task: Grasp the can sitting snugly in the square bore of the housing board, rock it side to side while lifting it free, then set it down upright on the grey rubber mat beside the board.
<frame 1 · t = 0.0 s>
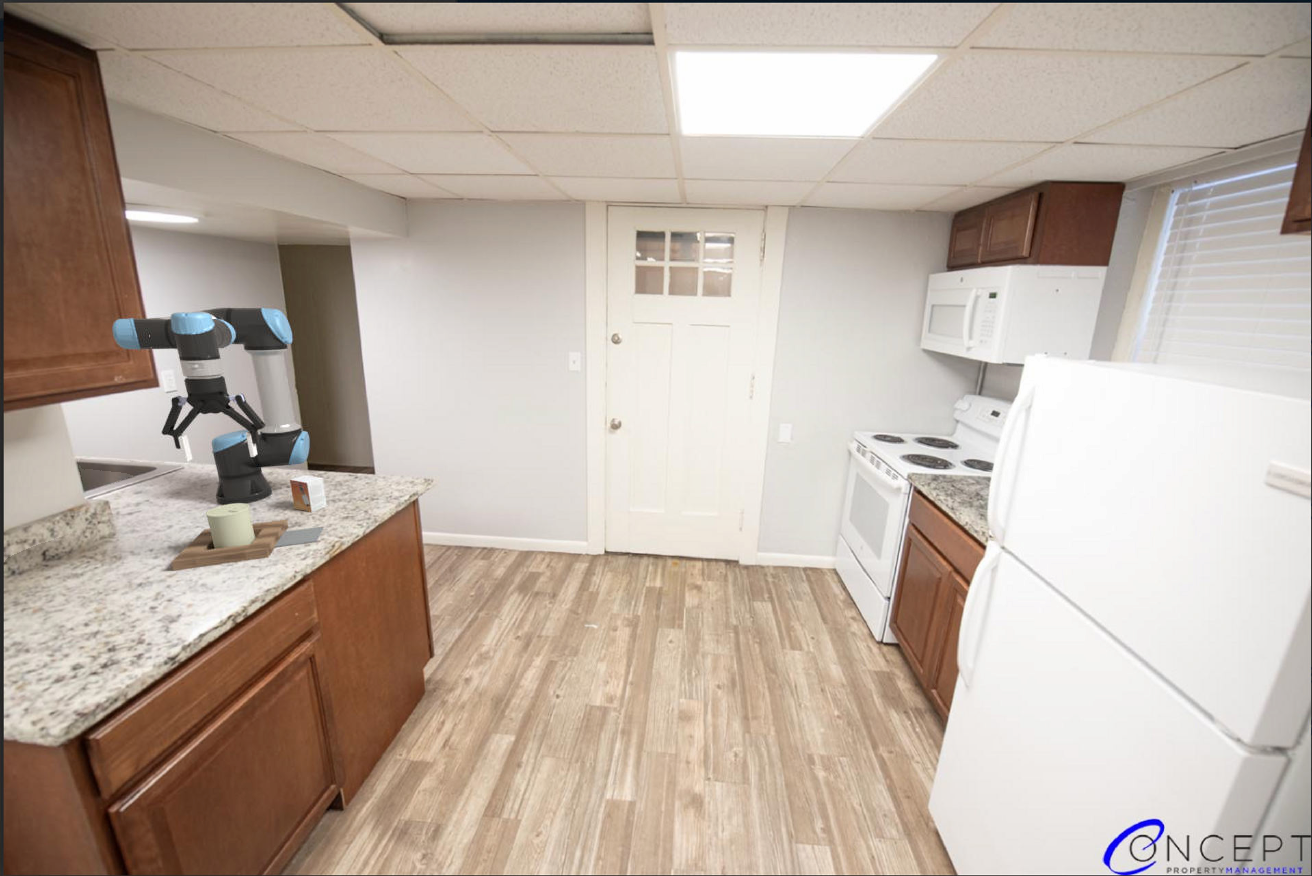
hand: (221, 458, 128), 28 cm above the worktop, fingers open, 13 cm apart
small box: (311, 508, 167), on the worktop
mat: (300, 537, 146), on the worktop
housing: (236, 546, 140), on the worktop
can: (236, 547, 140), resting in housing
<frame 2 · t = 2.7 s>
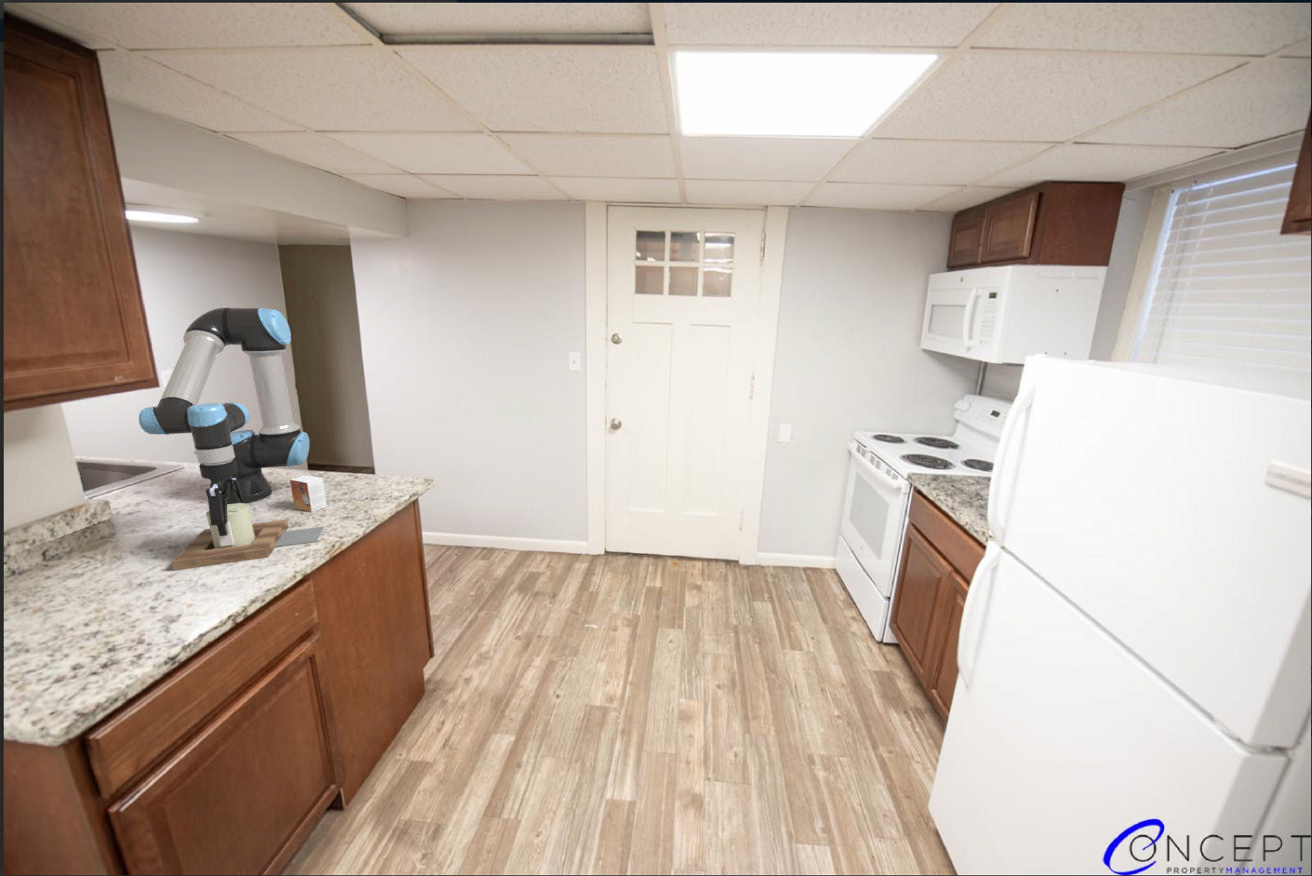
hand: (234, 537, 139), 3 cm above the worktop, fingers closed on can, 9 cm apart
can: (236, 547, 140), resting in housing, touching gripper
everything else where it was.
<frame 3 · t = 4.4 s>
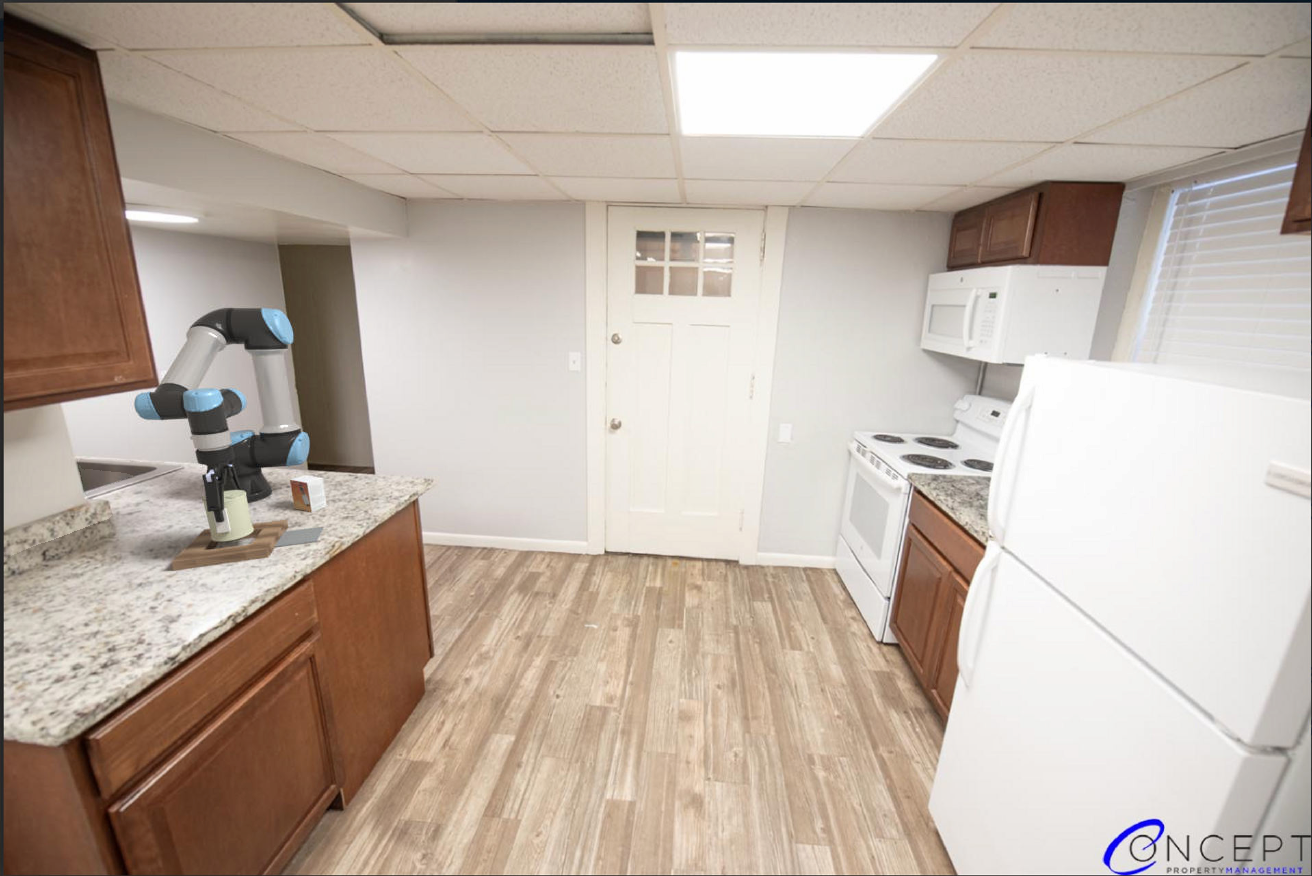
hand: (230, 524, 138), 7 cm above the worktop, fingers closed on can, 9 cm apart
can: (233, 534, 139), point 4 cm above the worktop, touching gripper
everything else where it was.
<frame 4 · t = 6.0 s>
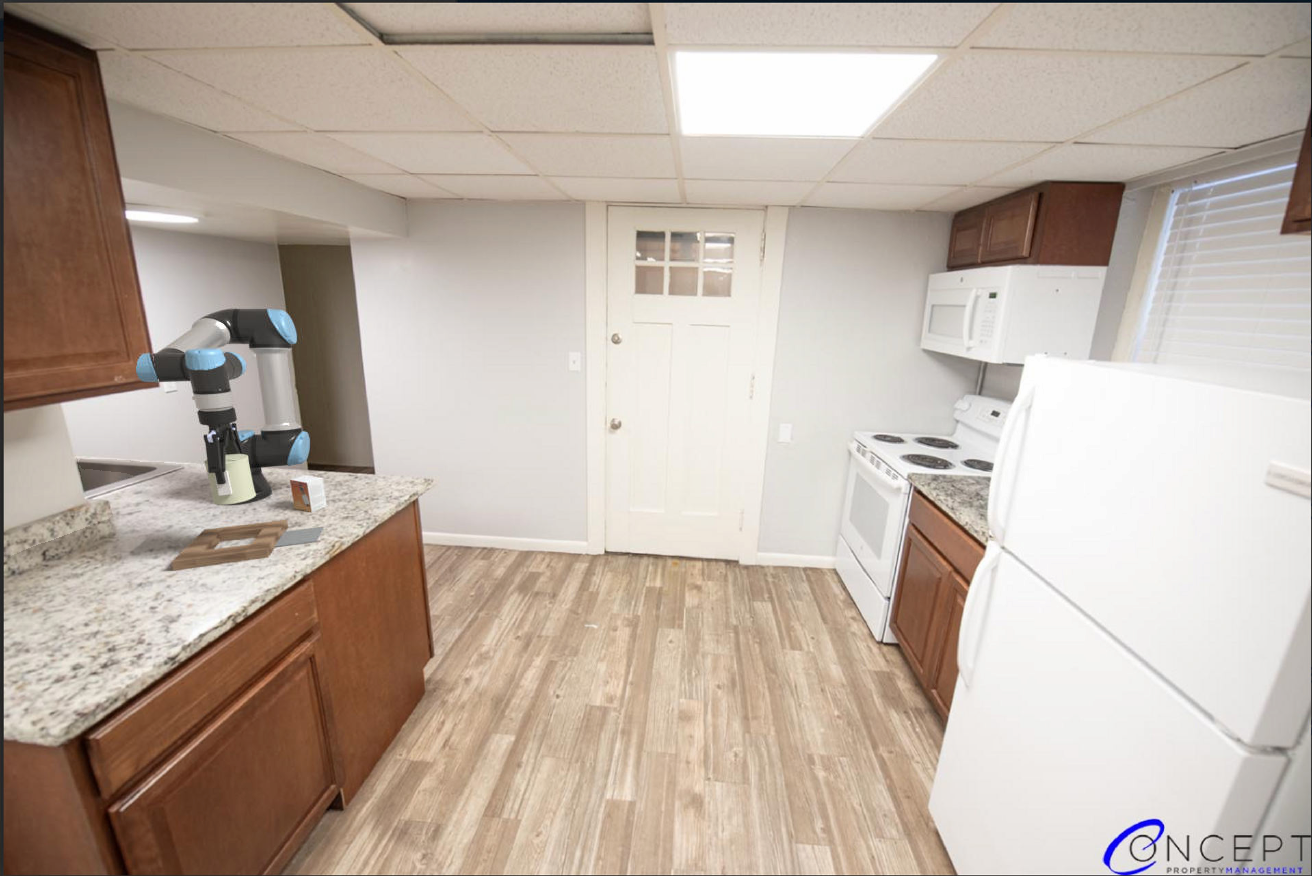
hand: (232, 488, 136), 17 cm above the worktop, fingers closed on can, 9 cm apart
can: (235, 499, 137), point 14 cm above the worktop, touching gripper
everything else where it was.
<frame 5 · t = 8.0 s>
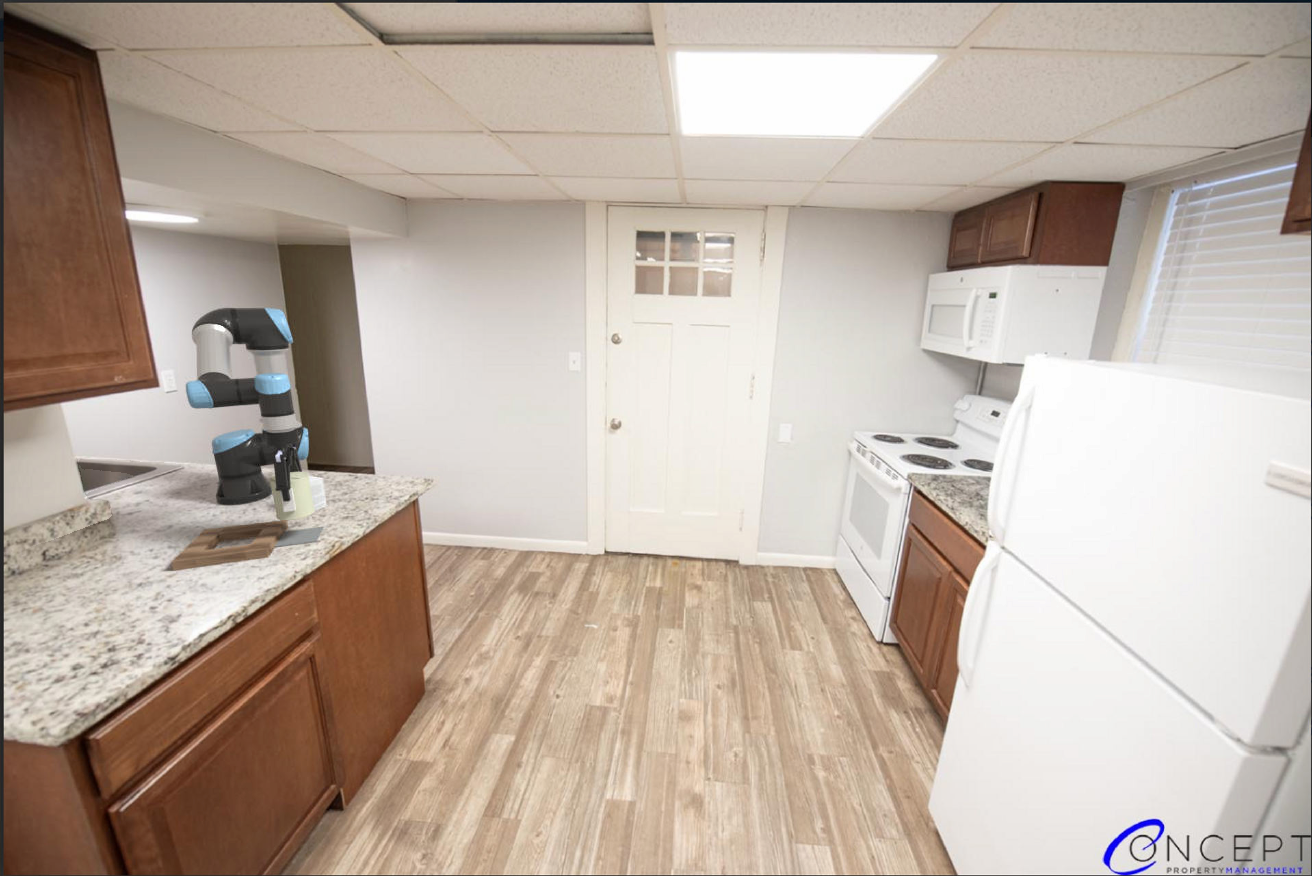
hand: (294, 504, 143), 10 cm above the worktop, fingers closed on can, 9 cm apart
can: (296, 514, 144), point 7 cm above the worktop, touching gripper
everything else where it was.
when the fingers open (4 cm above the worktop, at t = 9.6 s): can stays where it is, resting on mat.
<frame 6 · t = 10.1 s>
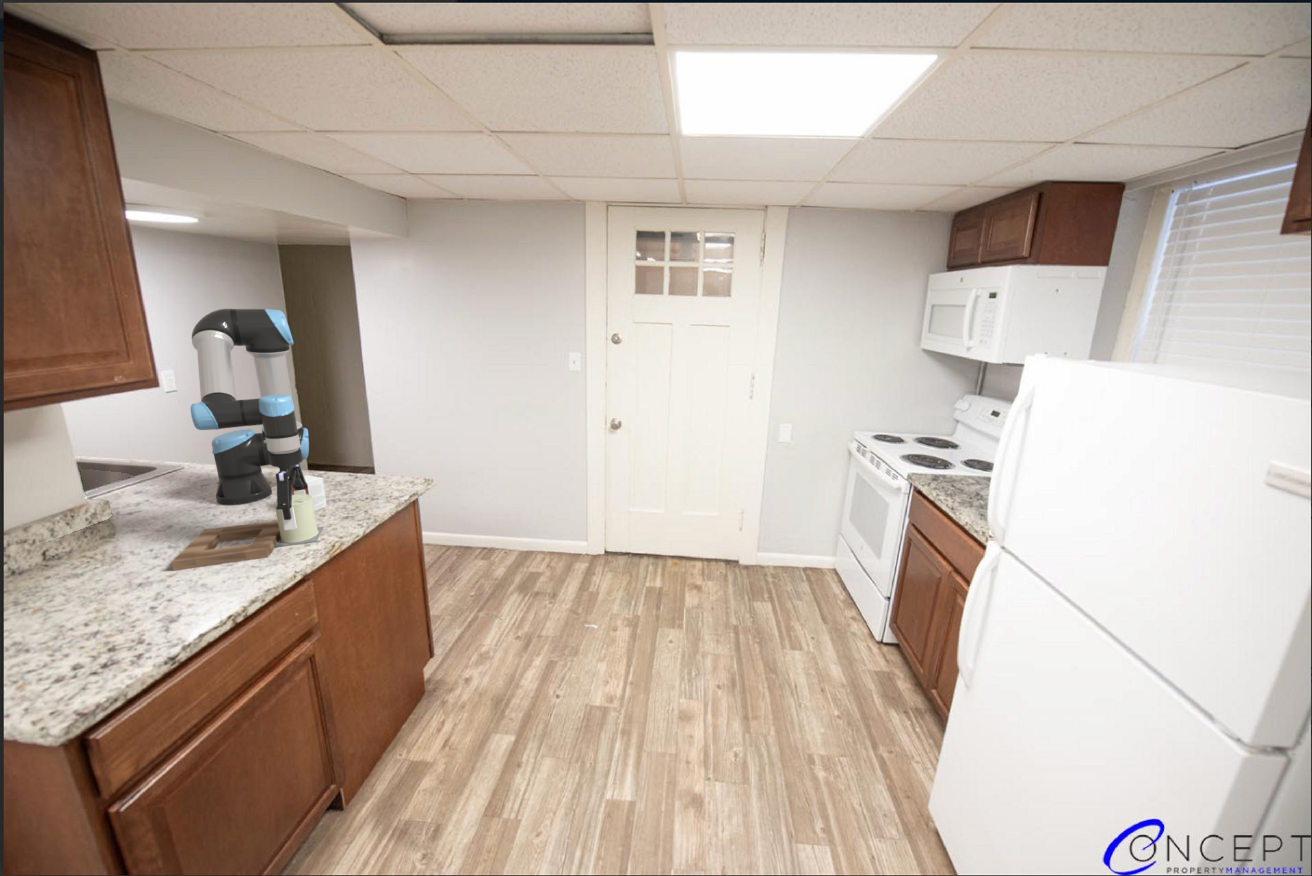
hand: (297, 519, 145), 6 cm above the worktop, fingers open, 13 cm apart
can: (300, 536, 146), resting on mat
everything else where it was.
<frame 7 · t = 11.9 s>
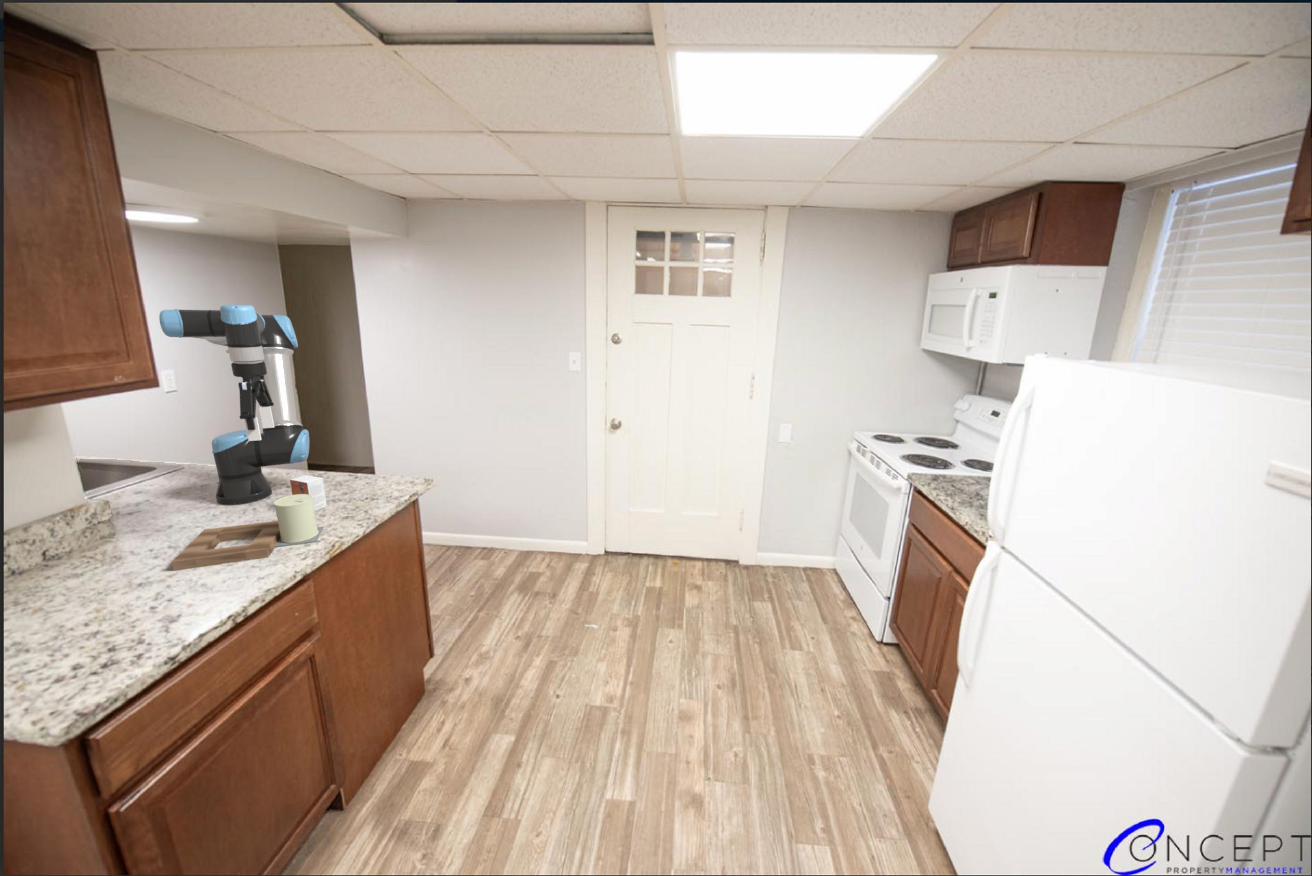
hand: (262, 433, 145), 30 cm above the worktop, fingers open, 13 cm apart
nothing on the worktop moved.
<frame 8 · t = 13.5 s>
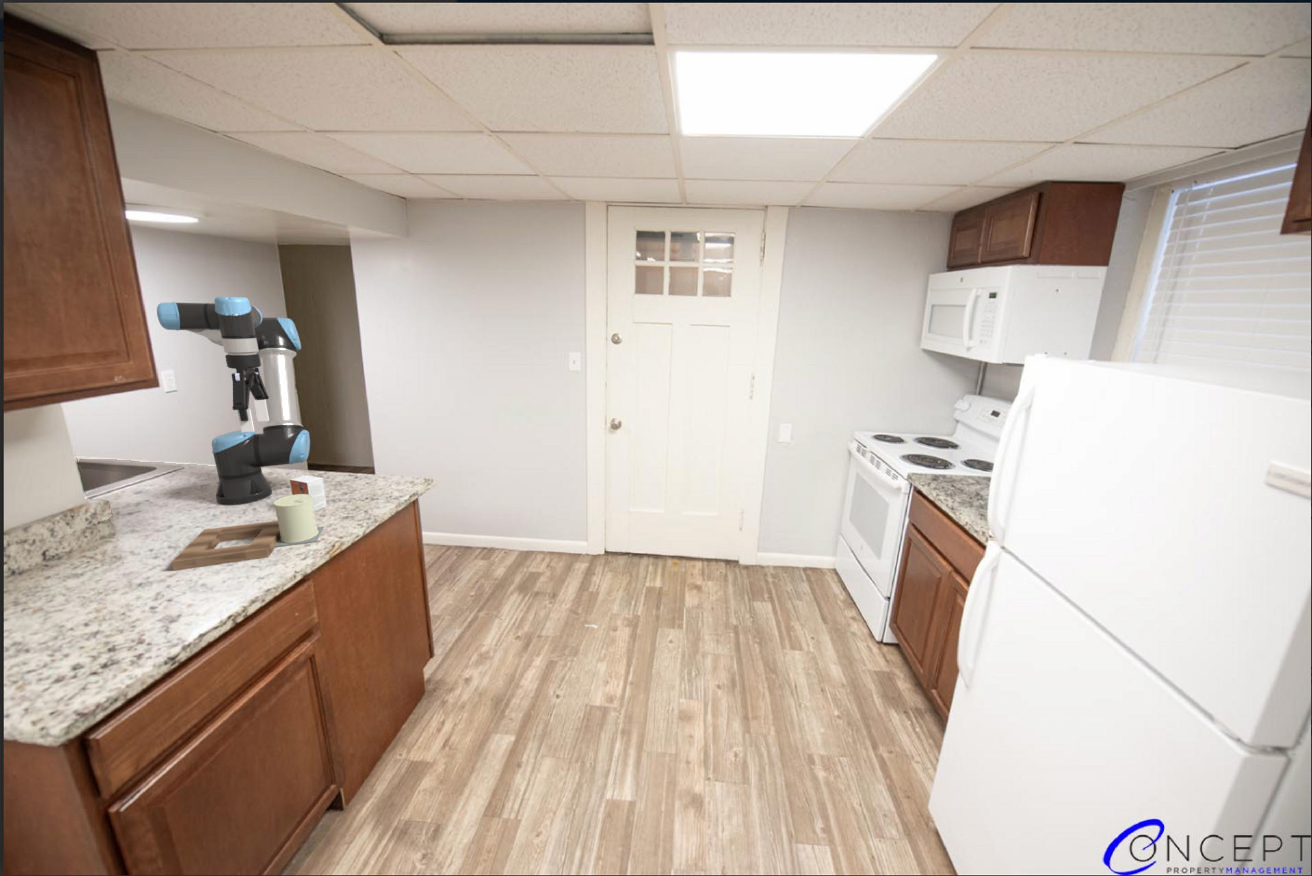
hand: (256, 426, 145), 32 cm above the worktop, fingers open, 13 cm apart
nothing on the worktop moved.
at the end: can inside the target area on the mat (0.0 cm from its centre), point 0.2 cm above the mat's base; can tilted 0°; the gripper is holding nothing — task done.
